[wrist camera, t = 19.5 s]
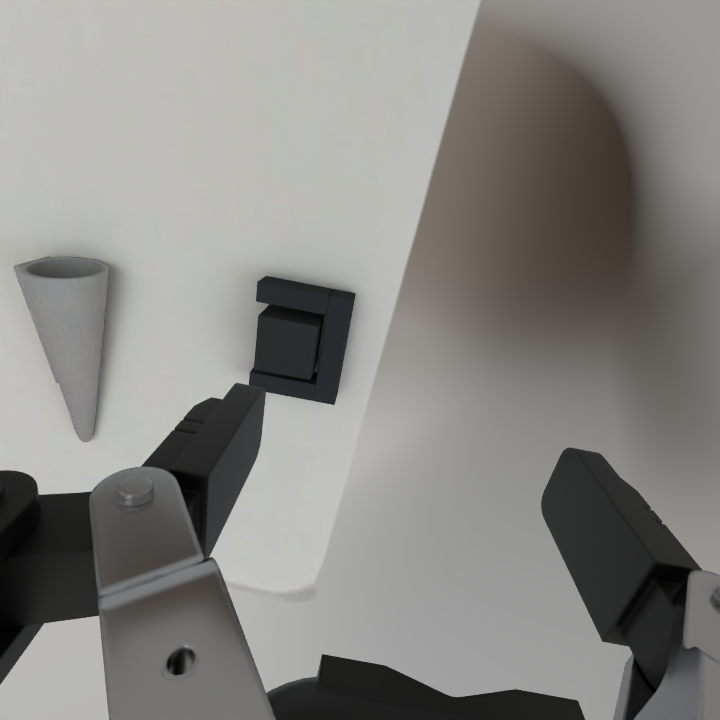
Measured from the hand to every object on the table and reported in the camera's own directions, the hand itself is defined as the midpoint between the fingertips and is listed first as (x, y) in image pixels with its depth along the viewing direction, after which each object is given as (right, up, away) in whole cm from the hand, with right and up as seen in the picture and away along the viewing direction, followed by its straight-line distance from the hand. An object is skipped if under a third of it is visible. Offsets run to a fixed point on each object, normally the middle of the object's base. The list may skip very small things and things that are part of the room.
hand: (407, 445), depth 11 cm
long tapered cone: (-27, +3, +29) cm, 39 cm away
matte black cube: (-7, +5, +27) cm, 28 cm away
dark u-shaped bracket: (-7, +4, +27) cm, 28 cm away
